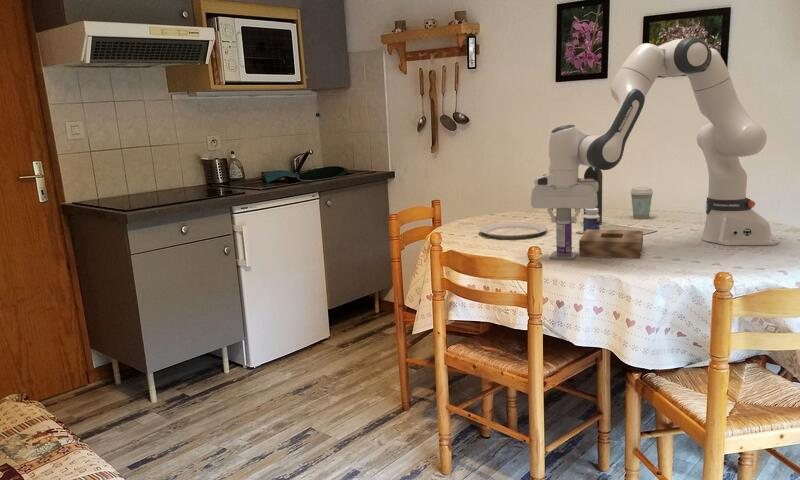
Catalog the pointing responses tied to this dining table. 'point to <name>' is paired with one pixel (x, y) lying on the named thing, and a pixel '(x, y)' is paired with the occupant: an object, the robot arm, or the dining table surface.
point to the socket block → (611, 243)
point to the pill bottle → (591, 220)
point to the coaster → (563, 256)
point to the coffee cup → (641, 202)
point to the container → (563, 231)
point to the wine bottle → (597, 175)
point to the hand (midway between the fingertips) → (563, 222)
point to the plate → (528, 225)
